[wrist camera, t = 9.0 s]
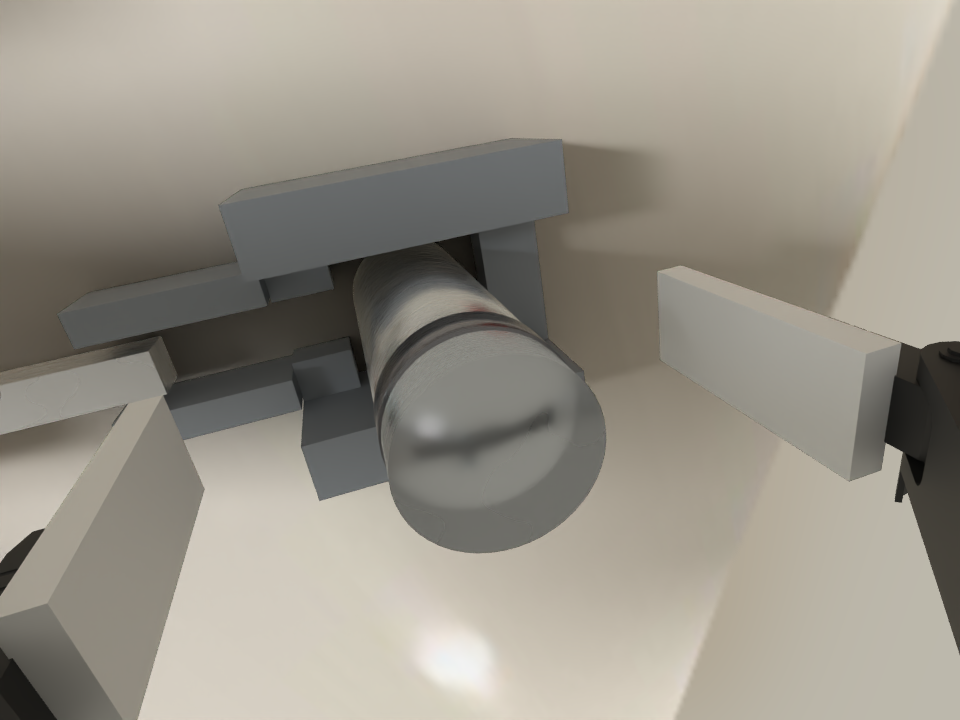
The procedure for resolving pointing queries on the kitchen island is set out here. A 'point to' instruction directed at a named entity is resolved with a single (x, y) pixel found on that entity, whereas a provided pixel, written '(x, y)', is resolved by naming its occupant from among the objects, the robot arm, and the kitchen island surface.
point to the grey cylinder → (471, 406)
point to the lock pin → (84, 384)
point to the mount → (305, 270)
